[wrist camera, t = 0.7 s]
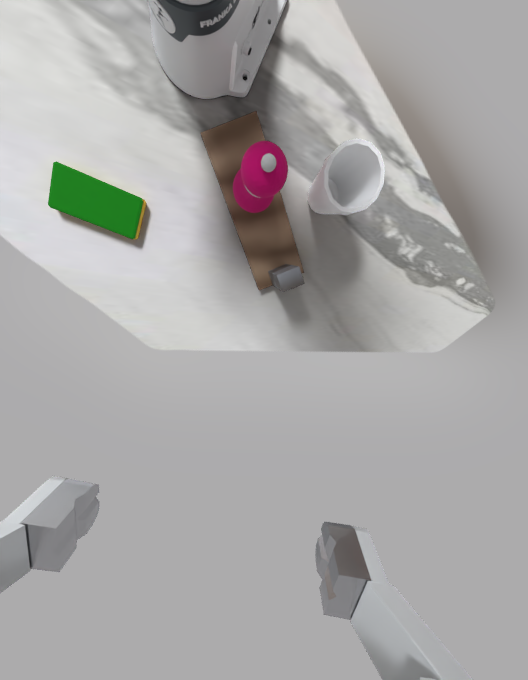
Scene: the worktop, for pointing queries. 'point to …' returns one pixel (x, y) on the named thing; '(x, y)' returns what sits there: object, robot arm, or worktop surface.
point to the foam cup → (348, 179)
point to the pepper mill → (260, 176)
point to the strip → (254, 228)
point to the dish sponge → (95, 201)
